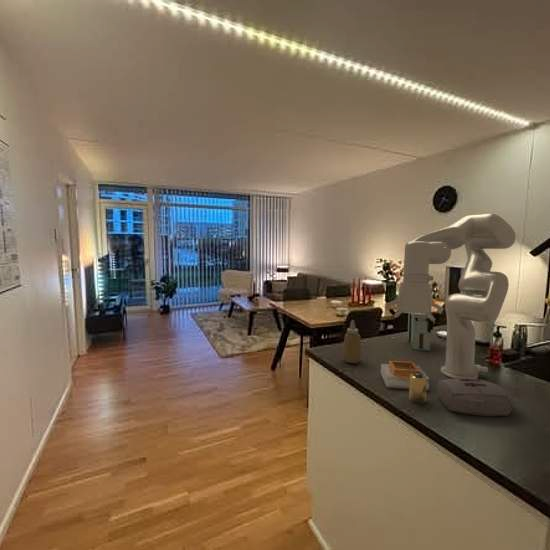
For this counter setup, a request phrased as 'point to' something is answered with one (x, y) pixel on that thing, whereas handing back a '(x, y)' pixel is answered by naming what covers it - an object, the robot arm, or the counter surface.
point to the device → (418, 331)
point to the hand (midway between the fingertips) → (412, 330)
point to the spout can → (417, 388)
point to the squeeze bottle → (352, 345)
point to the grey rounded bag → (475, 397)
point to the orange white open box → (400, 374)
